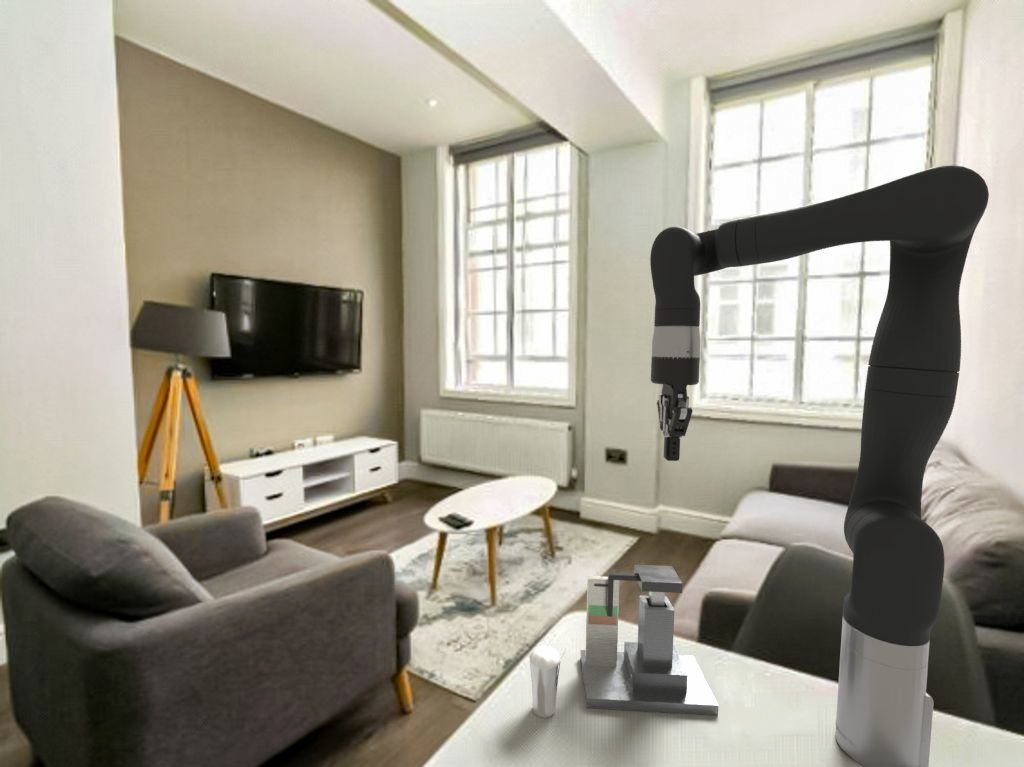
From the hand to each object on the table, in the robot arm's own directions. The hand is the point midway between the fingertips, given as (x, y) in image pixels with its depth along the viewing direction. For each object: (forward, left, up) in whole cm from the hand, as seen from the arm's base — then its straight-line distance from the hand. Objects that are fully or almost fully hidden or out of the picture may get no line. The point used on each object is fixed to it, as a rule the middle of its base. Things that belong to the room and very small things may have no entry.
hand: (671, 459), depth 83 cm
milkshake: (+20, +13, -35) cm, 43 cm away
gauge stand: (+5, +6, -35) cm, 36 cm away
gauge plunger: (+5, +6, -28) cm, 29 cm away
